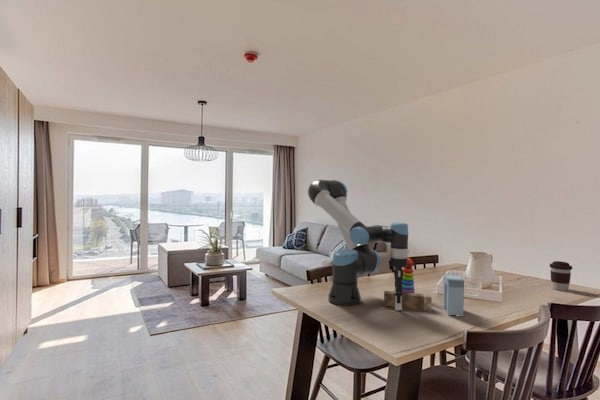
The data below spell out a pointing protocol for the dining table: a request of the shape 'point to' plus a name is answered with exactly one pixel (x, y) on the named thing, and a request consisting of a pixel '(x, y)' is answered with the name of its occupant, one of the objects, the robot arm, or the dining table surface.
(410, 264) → the stacking toy
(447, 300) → the light blue arch block
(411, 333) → the dining table surface
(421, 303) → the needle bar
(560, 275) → the coffee cup
